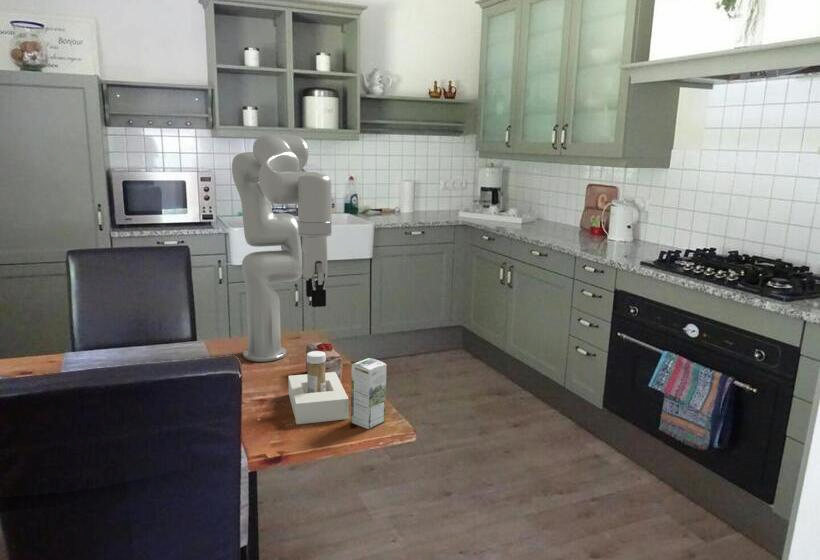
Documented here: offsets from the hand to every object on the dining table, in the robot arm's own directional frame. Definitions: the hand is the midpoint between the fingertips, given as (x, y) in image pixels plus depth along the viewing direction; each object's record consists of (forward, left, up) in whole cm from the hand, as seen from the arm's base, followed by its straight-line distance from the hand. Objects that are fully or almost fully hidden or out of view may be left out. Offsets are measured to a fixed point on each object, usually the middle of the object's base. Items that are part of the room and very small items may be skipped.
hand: (315, 301), depth 144 cm
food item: (-18, +4, -27) cm, 33 cm away
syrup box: (+12, +10, -26) cm, 31 cm away
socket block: (0, 0, -26) cm, 26 cm away
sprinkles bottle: (0, 0, -26) cm, 26 cm away
